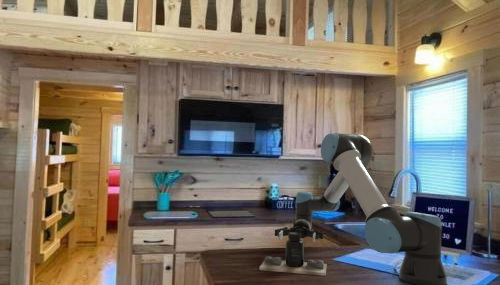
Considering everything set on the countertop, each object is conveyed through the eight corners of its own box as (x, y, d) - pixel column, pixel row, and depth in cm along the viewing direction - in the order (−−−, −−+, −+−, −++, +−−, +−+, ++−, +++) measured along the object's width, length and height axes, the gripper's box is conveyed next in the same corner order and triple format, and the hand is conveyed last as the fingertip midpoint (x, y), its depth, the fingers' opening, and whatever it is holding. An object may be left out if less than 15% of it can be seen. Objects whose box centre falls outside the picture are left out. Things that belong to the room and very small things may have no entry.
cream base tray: (326, 266, 151) (326, 257, 151) (325, 275, 140) (325, 266, 140) (265, 261, 157) (265, 253, 157) (259, 269, 145) (259, 260, 145)
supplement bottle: (306, 264, 149) (307, 232, 150) (298, 268, 144) (299, 235, 144) (290, 261, 153) (290, 230, 153) (282, 265, 147) (282, 233, 148)
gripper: (329, 238, 175) (328, 249, 154) (274, 235, 180) (265, 245, 160) (329, 221, 175) (328, 230, 154) (274, 218, 181) (266, 226, 160)
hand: (296, 238), depth 157 cm, fingers open, 13 cm apart
